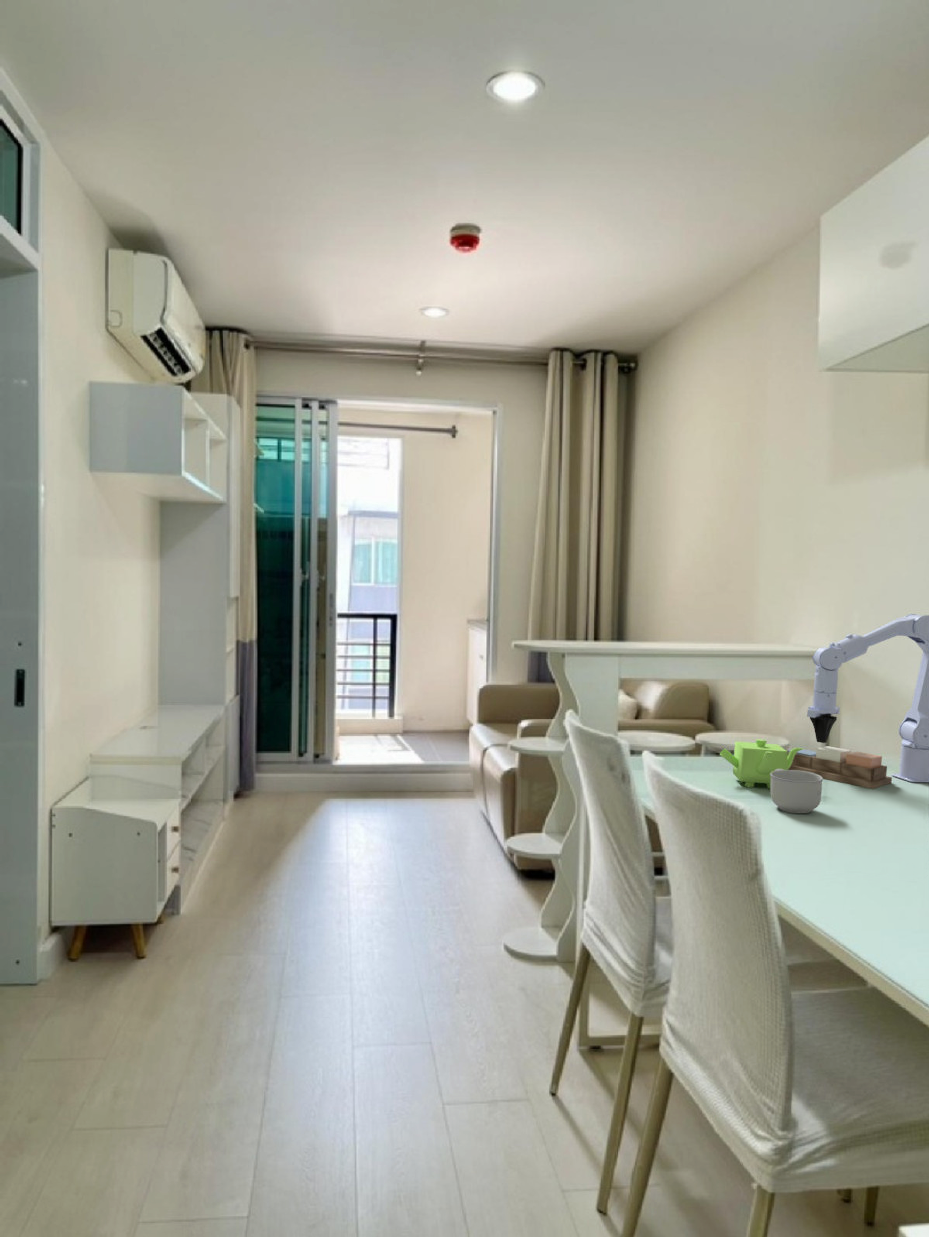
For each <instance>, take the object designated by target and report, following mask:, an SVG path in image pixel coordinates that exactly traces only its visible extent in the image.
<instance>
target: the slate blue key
mask: <svg viewBox="0 0 929 1237" xmlns="http://www.w3.org/2000/svg"><path fill="white" fill-rule="evenodd" d="M791 750H792V749H788V750H787V751H788V752H789V753H790V751H791ZM796 754H799V755H804V756H810V757H813V756H816V751H815V750H810V749H809V750H808V749H805V748H804V749H802V750H800V751H798V752H797V753H796Z"/></svg>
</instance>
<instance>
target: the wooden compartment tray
mask: <svg viewBox="0 0 929 1237" xmlns="http://www.w3.org/2000/svg"><path fill="white" fill-rule="evenodd" d="M786 751H787V752H788V750H786ZM788 755H789V752H788ZM788 755H787V756H788ZM887 769H888V766H887V765H882V764H881V767H878V768H874V769H871V768H865V767H860V766H855V765H850V764H846V762H842V763H840V762H835V761H830V760H825V759H820V758H816V756H813V757H810V756H804V755H799V754H795V756H794V759H793V762H792V764H791V766H790V768H789V769H788V770H799V771H806V772H811V773H815V774H818V775H820V776H821V777H822V778H823V779H825V780H830V781H833V782H839V783H844V784H848V785H849V784H850V785H853V786H857V787H863V788H867V789H875V788H880V787H883V786H887V785H890V784H892V781H893V780H892V779H893V777H890V776H887V774H888V772H887Z"/></svg>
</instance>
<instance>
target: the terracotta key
mask: <svg viewBox="0 0 929 1237" xmlns="http://www.w3.org/2000/svg"><path fill="white" fill-rule="evenodd" d="M882 759H883V756H882V755H878V754H872V753H866V752H862V751H853V752H851V753H848V754H847V755H846V764H850V765H855V766H860V767H865V768H871V769H874V768H878V767H881V765H882Z"/></svg>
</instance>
